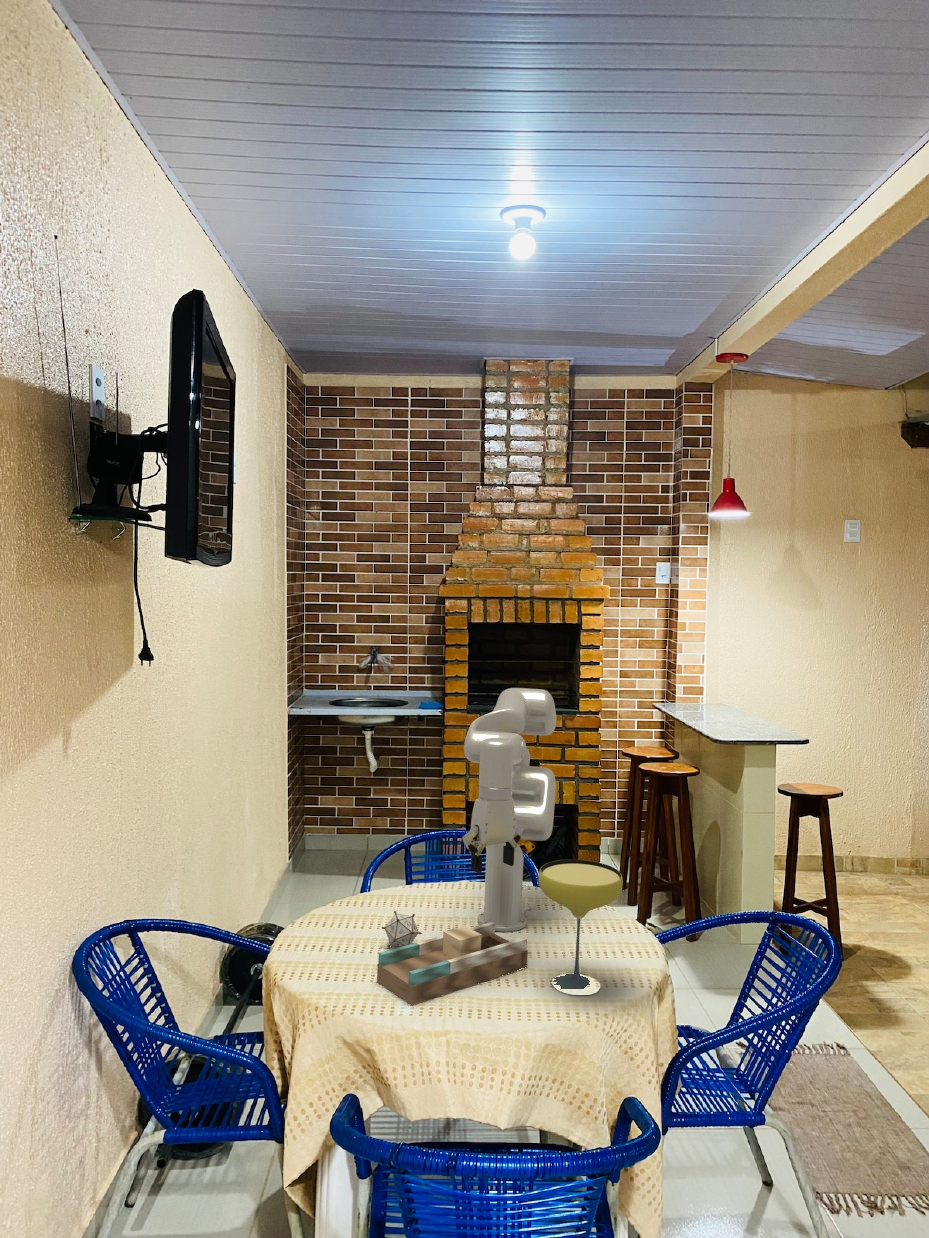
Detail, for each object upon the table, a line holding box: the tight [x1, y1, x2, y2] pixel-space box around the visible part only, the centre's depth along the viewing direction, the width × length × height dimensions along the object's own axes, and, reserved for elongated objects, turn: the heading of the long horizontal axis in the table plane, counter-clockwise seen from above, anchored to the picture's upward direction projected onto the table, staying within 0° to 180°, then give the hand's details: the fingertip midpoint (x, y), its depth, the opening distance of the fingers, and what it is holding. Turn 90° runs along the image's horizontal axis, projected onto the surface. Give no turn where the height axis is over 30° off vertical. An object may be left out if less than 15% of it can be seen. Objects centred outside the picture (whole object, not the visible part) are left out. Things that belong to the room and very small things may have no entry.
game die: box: [380, 910, 422, 949], centre depth 217 cm, size 9×8×10 cm
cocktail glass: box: [538, 859, 624, 989], centre depth 199 cm, size 18×18×25 cm
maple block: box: [442, 925, 481, 959], centre depth 204 cm, size 6×6×5 cm
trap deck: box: [376, 922, 529, 1006], centre depth 203 cm, size 32×13×6 cm, turn 129°
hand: (492, 867), depth 208 cm, fingers open, 9 cm apart
